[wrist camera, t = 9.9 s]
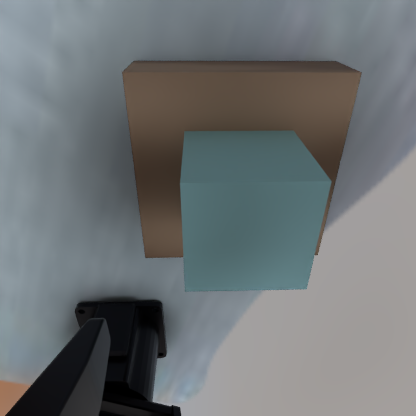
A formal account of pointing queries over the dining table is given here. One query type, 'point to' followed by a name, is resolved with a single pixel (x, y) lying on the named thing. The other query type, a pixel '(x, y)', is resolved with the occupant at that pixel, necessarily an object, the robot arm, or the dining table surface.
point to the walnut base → (226, 123)
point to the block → (249, 210)
